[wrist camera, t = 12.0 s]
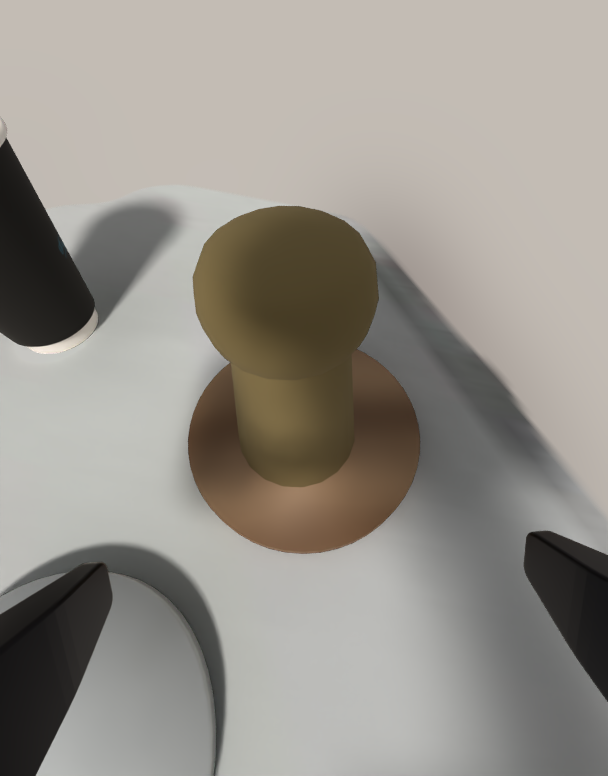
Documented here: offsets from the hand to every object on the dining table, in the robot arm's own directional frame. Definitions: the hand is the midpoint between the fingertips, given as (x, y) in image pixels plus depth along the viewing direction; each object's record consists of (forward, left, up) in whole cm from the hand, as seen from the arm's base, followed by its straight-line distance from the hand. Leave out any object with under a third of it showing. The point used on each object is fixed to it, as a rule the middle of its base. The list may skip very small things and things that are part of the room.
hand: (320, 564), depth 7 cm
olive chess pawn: (+7, -1, -8) cm, 11 cm away
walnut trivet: (+7, -1, -9) cm, 11 cm away
